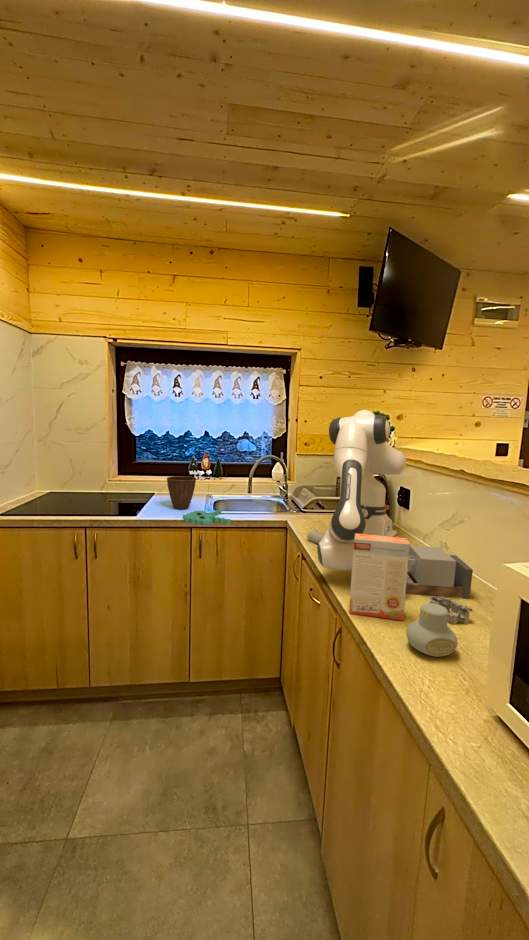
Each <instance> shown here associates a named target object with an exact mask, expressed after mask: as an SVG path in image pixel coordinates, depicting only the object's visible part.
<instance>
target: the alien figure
mask: <svg viewBox="0 0 529 940" xmlns="http://www.w3.org/2000/svg"><path fill="white" fill-rule="evenodd" d="M219 515H222V510H221V509H216V510H214V511H211V512H209V513H205V511H204V510H194V511H191V512H190V513H189V512H188V513H186V514H182V519H183V521H184V522H185V523H191V524H196V525H202V526H207V525H208V526H210V525H213V522H214V523H216V522H218V523H221V524H224V523H225V524H226V525H231V524H232V519H231V518H225V517H219Z"/></svg>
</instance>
